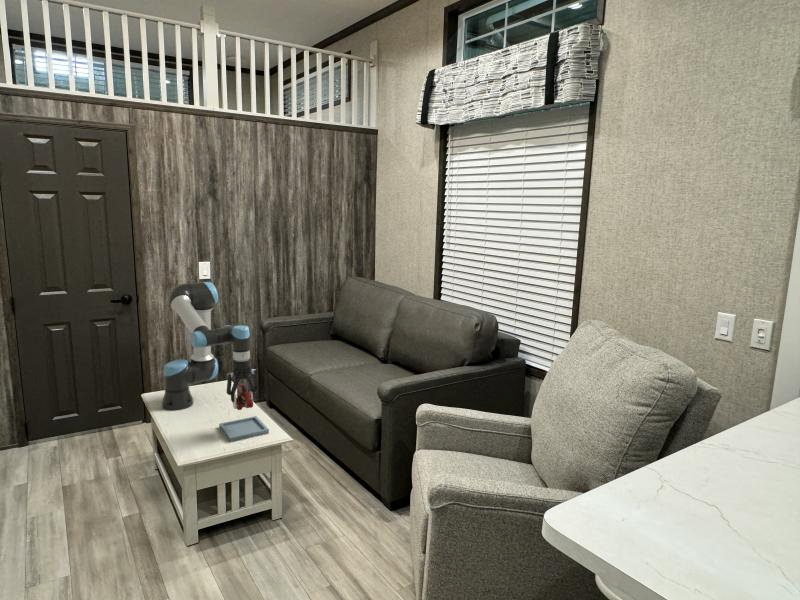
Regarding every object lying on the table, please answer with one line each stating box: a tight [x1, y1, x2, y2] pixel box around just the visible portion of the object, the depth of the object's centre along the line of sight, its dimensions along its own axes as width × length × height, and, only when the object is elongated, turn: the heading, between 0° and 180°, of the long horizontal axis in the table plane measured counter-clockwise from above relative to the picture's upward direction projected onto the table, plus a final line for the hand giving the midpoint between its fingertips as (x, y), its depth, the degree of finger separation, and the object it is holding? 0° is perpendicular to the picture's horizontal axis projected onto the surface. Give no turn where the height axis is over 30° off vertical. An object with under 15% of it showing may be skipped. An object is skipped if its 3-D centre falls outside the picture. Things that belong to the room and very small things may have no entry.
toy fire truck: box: [236, 382, 254, 411], centre depth 250 cm, size 7×12×10 cm, turn 37°
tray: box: [218, 415, 270, 443], centre depth 253 cm, size 18×18×2 cm
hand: (243, 406), depth 251 cm, fingers closed on toy fire truck, 7 cm apart
